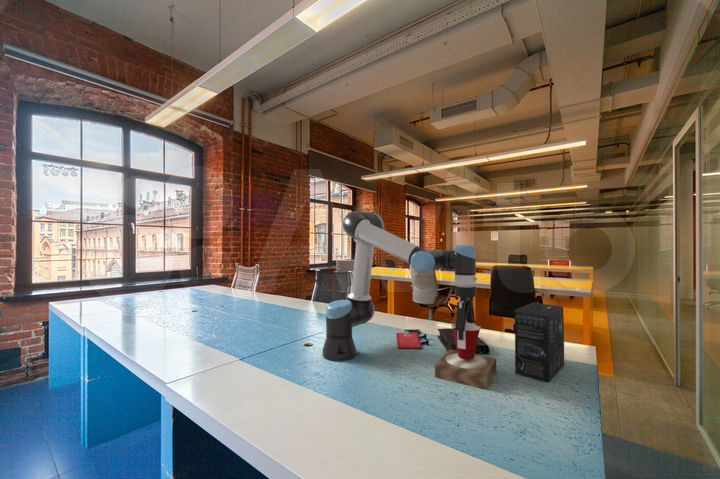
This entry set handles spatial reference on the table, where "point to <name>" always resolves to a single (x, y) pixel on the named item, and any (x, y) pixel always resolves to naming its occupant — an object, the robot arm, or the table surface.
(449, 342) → the diary
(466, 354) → the plastic cup
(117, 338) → the table surface
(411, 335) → the red board with handle
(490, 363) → the walnut pedestal
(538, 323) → the headset box
